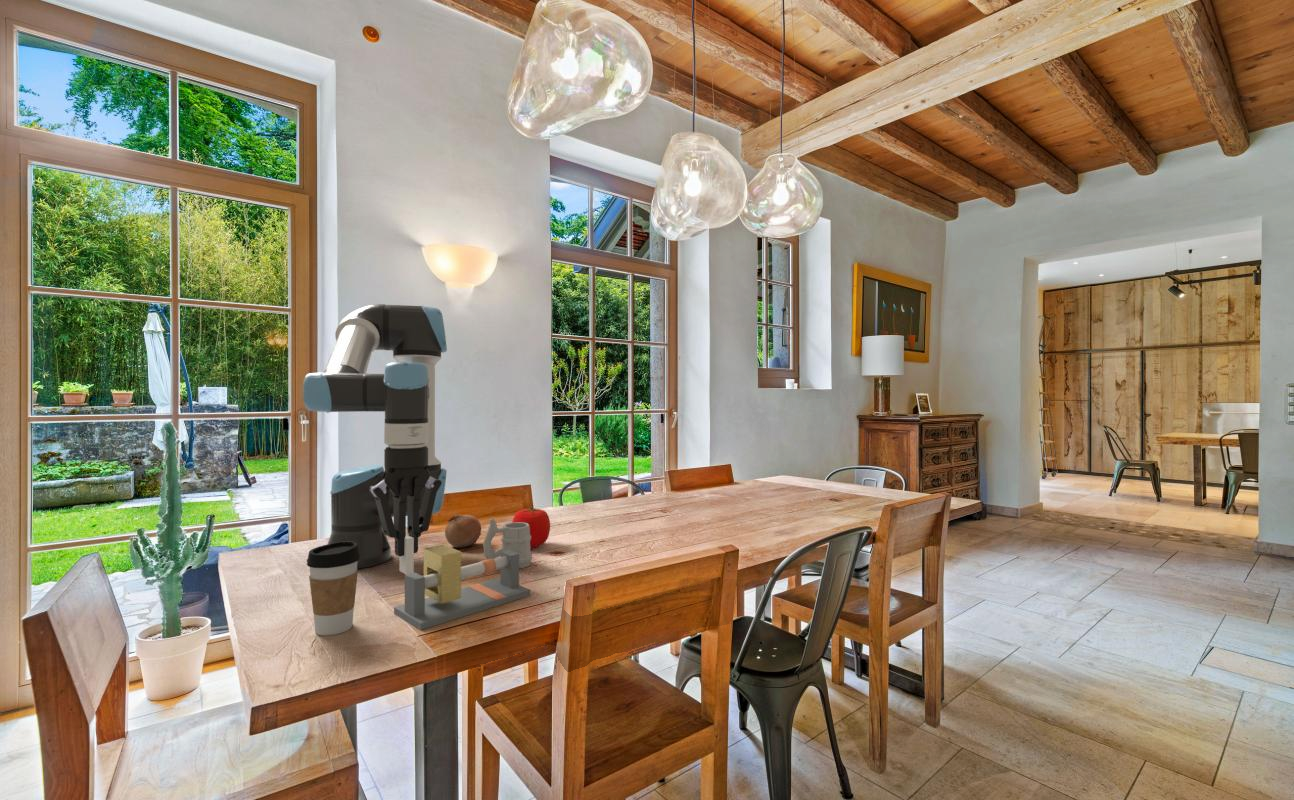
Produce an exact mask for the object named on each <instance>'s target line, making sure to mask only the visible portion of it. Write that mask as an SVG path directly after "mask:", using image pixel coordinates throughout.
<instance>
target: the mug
mask: <svg viewBox="0 0 1294 800" xmlns="http://www.w3.org/2000/svg"><path fill="white" fill-rule="evenodd" d="M489 522H490V523H489V526H488V529H487V532H486V535H485V537H484V541H483V543H482V548H483V555H484V558H485V560H487V559H491V558H492V559H495V558H499V557H501V552H503V551H507V550H510V551H512V552H515V553H518V554H519V569H525V568H528V567H530V566H531V565H532V564H531V563H532V562H531V561H532V560H533V554H532V553H531V548H530V540H531V535H530V527H529V524H528V523H523V522H515V523H512V522H509V523H505V524H504V525H503V526H502V527H498V524H497V522H496V521H495V519H494V518H490V519H489ZM500 533H502V536H501V539H500V540H501V542H502V544H501V545H502V547H501V548H499V549H497V550H494V549H493V548H492V540H493V539H494V537H495V536H496V534H500Z"/></svg>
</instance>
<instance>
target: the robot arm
mask: <svg viewBox="0 0 1294 800" xmlns="http://www.w3.org/2000/svg"><path fill="white" fill-rule="evenodd" d="M443 317H444V316H443V313H442V311H441V310H440V309H439V308H437V307H430V306H424V305H402V304H401V305H400V304H399V305H398V304H385V303H384V304H383V303H382V304H381V303H376V304H375V303H374V304H370V305H366V306H363V307H360V308H358V309H356V310H353V311H352V312H350V313H349V314H347V315H345V317H344V318H342V319H341V320H340V322H339V323H338V325H337V327H336V330H335V335H334V336H335V341H336V342H335V344H334V346H333V349H332V350H331V354H330V357H329V359H328V361H327V363H326V365H325V368H324V370H323V371H319V372H309V373H307V374H306V375H305V376H304V379H303V383H302V399H303V404H304V407H305V408H306V410H307V411H309V412H321V413H322V412H324V413H327V414H328V413H329V414H330V413H339V412H340V413H342V412H343V413H347V412H348V413H349V412H350V413H352V412H353V413H357V412H359V413H361V412H371V413H372V412H375V413H376V412H377V413H378V412H380V413H381V412H384V426H383V427H384V434H383V438H384V439H383V441H384V443H383V444H385V445H386V446H387V447H385V448H384V458H383V459H384V462H383V463H384V464H383V465H384V466H383V465H366V466H360V467H354V468H349V469H346V470H342V471H339V472H337V473H336V474H334V475H333V476H332V478H331V487H330V488H331V489H330V493H329V494H330V495H331V497H330V498H331V500H330V501H331V502H330V503H331V504H330V505H331V509H330V510H331V511H330V512H331V530H330V531H331V532H330V536H329V538H328V541H327V544H331V543H336V542H341V541H354V542H357V543H358V549H359V553H360V556H359V557H360V559H359V560H358V561H357V569H365V568H370V567H373V566H378V565H380V564H384V563H386V562H387V561H389V560H390V559H391V558H392V556H391V555H392V549H391V548H392V547H391V545H390V542H389V539H388V537H389V538H393V539H394V554H395V556H397V557H399V572H401V573H402V574H404V575H406V574H410V573H414V572H415V563H414V562H415V561H414V560H415V557H414V556H415V555H414V554H417V553H418V552H419V538H420V537H421V536H422V533H423V532H424V533H425V532H428V530H429V528H430V523H431V519H432V515H435V514H438V513H440V511H441V509H442V508H443V503H444V496H445V490H446V480H447V475H448V474H447V473H448V472H447V469H446V468H443V467H442V462H441V460H439V459H438V458H437V456H436V422H435V421H436V406H435V405H436V364H437V363H438V362H440V361H441V359H442V353H446V352H447V351H448V347H447V338H446V330H445V323H444V318H443ZM376 350H377V351H392V358H393V359H394V360H395V361H394V362H393V361H392V362H389V363H387V364H385V366H384V373H367V371H368V367H369V363H370V360H371V355H372V353H374V351H376ZM406 521H407V522H406ZM406 525H407V526H406ZM406 531H407V532H406Z"/></svg>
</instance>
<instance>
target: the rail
mask: <svg viewBox="0 0 1294 800" xmlns="http://www.w3.org/2000/svg"><path fill="white" fill-rule="evenodd" d="M499 570H500V577H499V578H496V579H491V580H487V581H483V582H480V583H476V584H471V585H468V586H466V587H461V598H460V599H456V600H453V601H450V602H446V603H443V604H441V603H439V602H437V601H435V600H433V599H432V598H430V597H426V595H425V589H427V588H430V587H434V586H438V573H434V574H430V575H426V576H424V575H421V574H419V573H417V572H415V571H414V573H409V574H404V604H400V605H397V606H396V605H395V606H394V607H393V613H394V614H395V616H398V617H400V618H401V619H403V620H404V621H405V622H407V623H408V624H410V625H411V626H413V627H415V628H416V629H417V630H420V631H422V630H425V629H428V628H431V627H435V626H437V625H440V624H441V625H442V624H444V623H447V622H451V621H454V620H457V619H460V618H464V617H466V616H469V615H472V614H476V613H478V612H482V611H485V610H488V609H493V608H494V607H498V606H501V605H505V604H506V603H507V604H508V603H510V602H514V601H517V600H521V599H524V598H526V597H530V596H531V594H532V593H531V592H532V590H531V589H530V588H527V587H525V586H523V585H520V568H519V554H518V553H515V552H512V551H510V550H507V551H503V552H501V556H499V557H497V558H495V559H492V558H491V559H484V560H480V561H479V562H475V563H472V564H468V565H464V566H461V580H464V579H468V578H472V577H475V576H478V575H479V576H480V575H487V574H491V573H494V572H495V571H499ZM425 597H426V598H425Z"/></svg>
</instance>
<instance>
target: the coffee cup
mask: <svg viewBox="0 0 1294 800" xmlns="http://www.w3.org/2000/svg"><path fill="white" fill-rule="evenodd" d="M307 555H308V556H307V559H306V566H307V567H309V573H310V575H309V579H308V580H309V586H310V588H309V589H310V595H311V596H310V597H311V604H312V605H311V606H312V613H313V619H314V623H313V624H314V632H315V634H316V635H319V636H322V637H323V636H327V637H329V636H334V635H339V634H342V633H345V632H347V631H349V630H351V628H353V624H354V623H353V622H354V610H355V602H356V601H355V600H356V593H357V592H356V591H357V583H358V574H359V573H358V571H359V570H358V569H359V568H358V569H357V561H358V560H359V559H360V557H359V556H360V553H359V549H358V543H357V542H354V541H341V542H336V543H331V544H328V543H326V544H324V545H319V546H317V547H314V548H312V549H310V550H309V552H308V554H307Z"/></svg>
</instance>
